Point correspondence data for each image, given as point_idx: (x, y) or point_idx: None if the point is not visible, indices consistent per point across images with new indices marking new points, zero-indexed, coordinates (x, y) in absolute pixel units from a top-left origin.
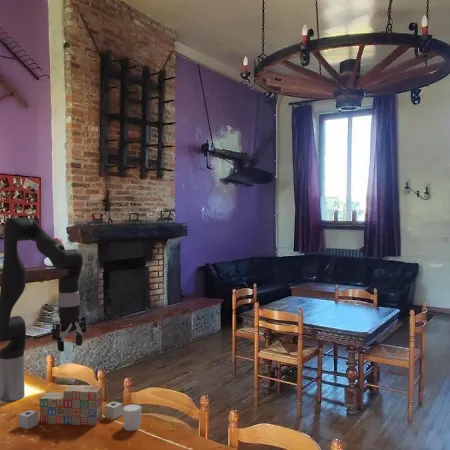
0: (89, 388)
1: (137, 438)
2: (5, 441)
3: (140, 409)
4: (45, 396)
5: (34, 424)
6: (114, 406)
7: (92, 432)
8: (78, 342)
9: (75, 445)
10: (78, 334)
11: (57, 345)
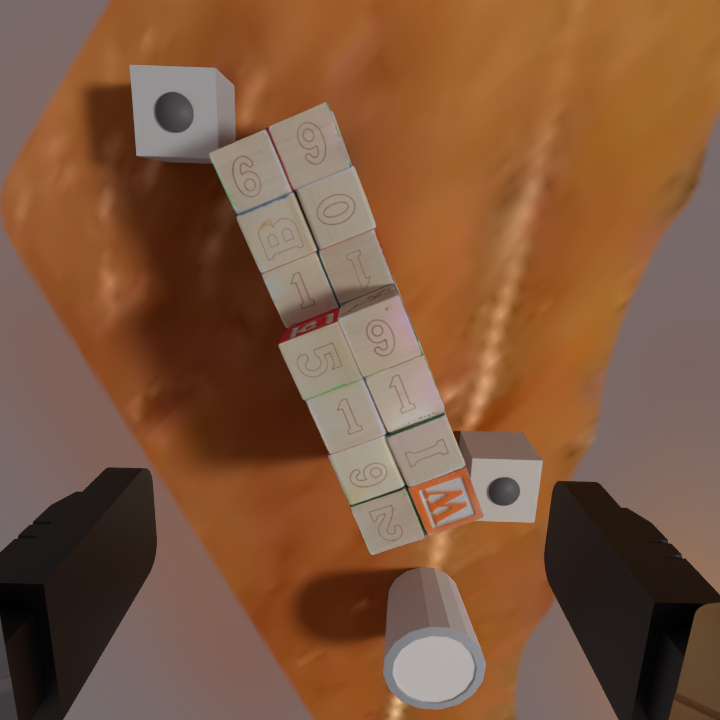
0: (404, 476)
1: (345, 668)
2: (13, 172)
3: (438, 707)
4: (259, 162)
5: (209, 162)
6: (483, 510)
7: (302, 484)
8: (571, 564)
9: (174, 500)
10: (669, 708)
11: (9, 545)
